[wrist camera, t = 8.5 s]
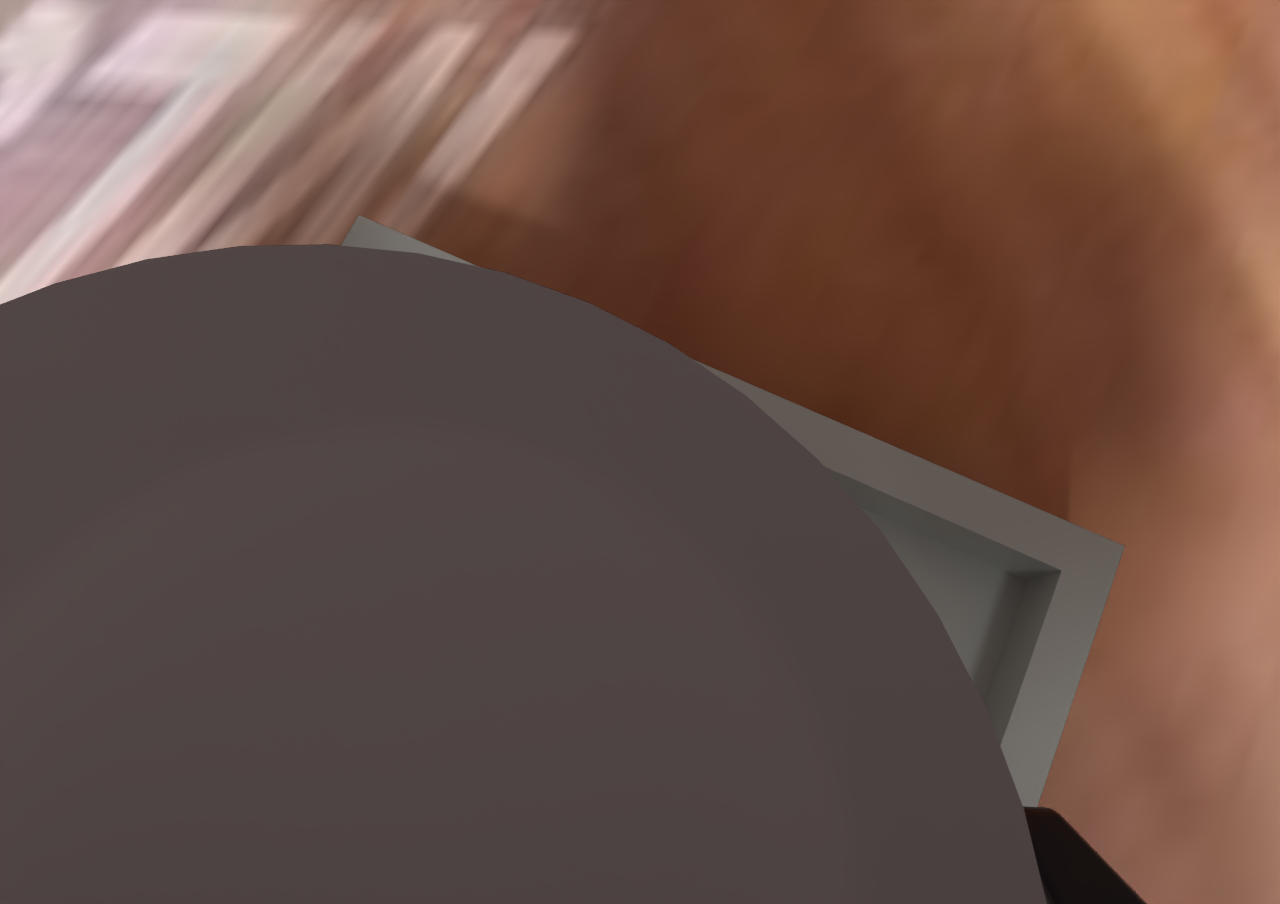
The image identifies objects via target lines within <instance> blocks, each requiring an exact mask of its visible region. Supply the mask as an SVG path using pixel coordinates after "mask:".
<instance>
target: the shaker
mask: <svg viewBox="0 0 1280 904" xmlns="http://www.w3.org/2000/svg"><path fill="white" fill-rule="evenodd" d="M0 904H1047V902H1046V898H1045V894H1044V890H1043V886H1042V881H1041V877H1040V873H1039V869H1038V865H1037V861H1036V857H1035V853H1034V849H1033V844H1032V840H1031V836H1030V832H1029V828H1028V824H1027V820H1026V816H1025V811H1024V808H1023V806H1022V803H1021V800H1020V797H1019V795H1018V792H1017V789H1016V787H1015V784H1014V781H1013V779H1012V776H1011V773H1010V771H1009V768H1008V765H1007V763H1006V760H1005V757H1004V755H1003V752H1002V749H1001V746H1000V744H999V741H998V738H997V736H996V733H995V730H994V728H993V725H992V722H991V720H990V717H989V714H988V712H987V709H986V707H985V705H984V703H983V701H982V699H981V697H980V695H979V693H978V691H977V689H976V687H975V685H974V683H973V681H972V679H971V678H970V676H969V674H968V672H967V670H966V668H965V666H964V664H963V662H962V660H961V658H960V656H959V654H958V652H957V650H956V648H955V647H954V645H953V643H952V641H951V639H950V637H949V635H948V633H947V631H946V629H945V627H944V625H943V623H942V621H941V619H940V618H939V616H938V614H937V612H936V611H935V609H934V608H933V606H932V605H931V604H930V602H929V601H928V599H927V598H926V596H925V595H924V593H923V592H922V590H921V589H920V587H919V586H918V585H917V583H916V582H915V580H914V579H913V577H912V576H911V574H910V573H909V571H908V570H907V568H906V567H905V565H904V564H903V563H902V561H901V560H900V558H899V557H898V555H897V554H896V552H895V551H894V549H893V548H892V546H891V545H890V543H889V542H888V541H887V539H886V538H885V536H884V535H883V533H882V532H881V530H880V529H879V528H878V527H877V526H876V525H875V524H874V523H873V521H872V520H871V519H870V518H869V517H868V516H867V515H866V513H865V512H864V511H863V510H862V509H861V508H860V507H859V506H858V504H857V503H856V502H855V501H854V500H853V499H852V498H851V496H850V495H849V494H848V493H847V492H846V491H845V490H844V489H843V487H842V486H841V485H840V484H839V483H838V482H837V481H836V479H835V478H834V477H833V476H832V475H831V474H830V473H829V472H828V470H827V469H826V468H825V467H824V466H823V465H822V464H821V462H820V461H819V460H818V459H817V458H816V457H815V456H814V455H813V454H811V453H810V452H809V451H808V450H807V449H806V448H805V447H804V446H802V445H801V444H800V443H799V442H798V441H797V440H796V439H794V438H793V437H792V436H791V435H790V434H789V433H788V432H787V431H785V430H784V429H783V428H782V427H781V426H780V425H779V424H777V423H776V422H775V421H774V420H773V419H772V418H771V417H770V416H768V415H767V414H766V413H765V412H764V411H763V410H762V409H760V408H759V407H758V406H757V405H756V404H755V403H754V402H753V401H751V400H750V399H749V398H748V397H747V396H746V395H744V394H743V393H741V392H740V391H738V390H737V389H735V388H734V387H732V386H731V385H729V384H728V383H727V382H725V381H724V380H722V379H721V378H719V377H718V376H716V375H715V374H713V373H712V372H710V371H709V370H707V369H706V368H704V367H703V366H702V365H700V364H699V363H697V362H696V361H694V360H693V359H691V358H690V357H688V356H687V355H685V354H684V353H682V352H681V351H679V350H678V349H677V348H675V347H674V346H672V345H671V344H669V343H667V342H665V341H663V340H661V339H659V338H657V337H655V336H653V335H651V334H649V333H647V332H645V331H643V330H641V329H639V328H638V327H636V326H634V325H632V324H630V323H628V322H626V321H624V320H622V319H620V318H618V317H616V316H614V315H612V314H610V313H608V312H606V311H604V310H602V309H600V308H598V307H596V306H594V305H592V304H590V303H588V302H585V301H583V300H580V299H577V298H574V297H571V296H569V295H566V294H563V293H560V292H557V291H555V290H552V289H549V288H546V287H544V286H541V285H538V284H535V283H532V282H530V281H527V280H524V279H521V278H519V277H516V276H513V275H510V274H507V273H505V272H500V271H496V270H491V269H487V268H482V267H478V266H473V265H469V264H464V263H460V262H455V261H451V260H446V259H442V258H437V257H433V256H429V255H424V254H420V253H412V252H402V251H391V250H381V249H371V248H361V247H350V246H340V245H330V244H322V245H279V246H238V247H231V248H224V249H217V250H209V251H202V252H195V253H188V254H181V255H174V256H167V257H160V258H153V259H146V260H143V261H139V262H135V263H131V264H127V265H124V266H120V267H116V268H112V269H108V270H104V271H101V272H97V273H93V274H89V275H85V276H82V277H78V278H74V279H70V280H66V281H62V282H59V283H55V284H53V285H50V286H47V287H45V288H42V289H40V290H37V291H34V292H32V293H29V294H27V295H24V296H22V297H19V298H16V299H14V300H11V301H9V302H6V303H3V304H1V305H0Z"/></svg>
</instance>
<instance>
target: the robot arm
mask: <svg viewBox="0 0 1280 904" xmlns="http://www.w3.org/2000/svg"><path fill="white" fill-rule="evenodd" d="M1023 808H1024V811H1025V816H1026V820H1027V824H1028V828H1029V832H1030V836H1031V840H1032V844H1033V849H1034V853H1035V857H1036V861H1037V865H1038V869H1039V873H1040V877H1041V881H1042V886H1043V890H1044V894H1045V898H1046V902H1047V904H1147V903H1146V902H1145V901H1144V900H1143V899H1142V898H1141V897H1140V896H1139V895H1138V894H1137V893H1136V892H1135V891H1134V890H1133V889H1132V888H1131V887H1130V886H1129V885H1128V884H1127V883H1126V882H1125V881H1124V880H1123V879H1122V878H1121V877H1120V876H1119V875H1118V873H1117V872H1116V871H1115V870H1114V869H1113V868H1112V867H1111V866H1110V865H1109V864H1108V863H1107V862H1106V861H1105V860H1104V859H1103V858H1102V857H1101V856H1100V855H1099V854H1098V853H1097V852H1096V851H1095V850H1094V849H1093V848H1092V847H1091V846H1090V845H1089V844H1088V843H1087V841H1086V840H1085V839H1084V838H1083V837H1082V836H1081V835H1080V834H1079V833H1078V832H1077V831H1076V830H1075V829H1074V828H1073V827H1072V826H1071V825H1070V824H1069V823H1068V822H1067V821H1066V820H1065V819H1064V818H1063V817H1062V816H1061V815H1060V814H1059V813H1057V812H1056V811H1054V810H1052V809H1050V808H1045V807H1027V806H1023Z"/></svg>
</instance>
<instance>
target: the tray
mask: <svg viewBox="0 0 1280 904" xmlns="http://www.w3.org/2000/svg"><path fill="white" fill-rule="evenodd" d="M341 246H350V247H361V248H371V249H381V250H391V251H402V252H412V253H420V254H424V255H429V256H433V257H437V258H442V259H446V260H451V261H455V262H460V263H464V264H469V265H473V266H476V265H474V264H472V263H469V262H467V261H465V260H462V259H460V258H458V257H455V256H453V255H451V254H448V253H446V252H444V251H441V250H439V249H437V248H435V247H432V246H430V245H428V244H425V243H423V242H421V241H418V240H416V239H414V238H411V237H409V236H407V235H404V234H402V233H400V232H398V231H395V230H393V229H391V228H388V227H386V226H384V225H381V224H379V223H377V222H374V221H372V220H370V219H367V218H365V217H363V216H361V215H358V217H357V219H356V220H355V222H354V224H353V226H352V227H351V229H350V231H349V232H348V234H347V236H346V238H345V239H344V241H343V243H342V244H341ZM693 360H694V359H693ZM694 361H696V360H694ZM696 362H697V363H699V364H700V365H702V366H703V367H704V368H706V369H707V370H709V371H710V372H712V373H713V374H715V375H716V376H718V377H719V378H721V379H722V380H724V381H725V382H727V383H728V384H729V385H731V386H732V387H734V388H735V389H737V390H738V391H740V392H741V393H743V394H744V395H746V396H747V397H748V398H749V399H750V400H751V401H753V402H754V403H755V404H756V405H757V406H758V407H759V408H760V409H762V410H763V411H764V412H765V413H766V414H767V415H768V416H770V417H771V418H772V419H773V420H774V421H775V422H776V423H777V424H779V425H780V426H781V427H782V428H783V429H784V430H785V431H787V432H788V433H789V434H790V435H791V436H792V437H793V438H794V439H796V440H797V441H798V442H799V443H800V444H801V445H802V446H804V447H805V448H806V449H807V450H808V451H809V452H810V453H811V454H813V455H814V456H815V457H816V458H817V459H818V460H819V461H820V462H821V464H822V465H823V466H824V467H825V468H826V469H827V470H828V472H829V473H830V474H831V475H832V476H833V477H834V478H835V479H836V481H837V482H838V483H839V484H840V485H841V486H842V487H843V489H844V490H845V491H846V492H847V493H848V494H849V495H850V496H851V498H852V499H853V500H854V501H855V502H856V503H857V504H858V506H859V507H860V508H861V509H862V510H863V511H864V512H865V513H866V515H867V516H868V517H869V518H870V519H871V520H872V521H873V523H874V524H875V525H876V526H877V527H878V528H879V529H880V530H881V532H882V533H883V535H884V536H885V538H886V539H887V541H888V542H889V543H890V545H891V546H892V548H893V549H894V551H895V552H896V554H897V555H898V557H899V558H900V560H901V561H902V563H903V564H904V565H905V567H906V568H907V570H908V571H909V573H910V574H911V576H912V577H913V579H914V580H915V582H916V583H917V585H918V586H919V587H920V589H921V590H922V592H923V593H924V595H925V596H926V598H927V599H928V601H929V602H930V604H931V605H932V606H933V608H934V609H935V611H936V612H937V614H938V616H939V618H940V619H941V621H942V623H943V625H944V627H945V629H946V631H947V633H948V635H949V637H950V639H951V641H952V643H953V645H954V647H955V648H956V650H957V652H958V654H959V656H960V658H961V660H962V662H963V664H964V666H965V668H966V670H967V672H968V674H969V676H970V678H971V679H972V681H973V683H974V685H975V687H976V689H977V691H978V693H979V695H980V697H981V699H982V701H983V703H984V705H985V707H986V709H987V712H988V714H989V717H990V720H991V722H992V725H993V728H994V730H995V733H996V736H997V738H998V741H999V744H1000V746H1001V749H1002V752H1003V755H1004V757H1005V760H1006V763H1007V765H1008V768H1009V771H1010V773H1011V776H1012V779H1013V781H1014V784H1015V787H1016V789H1017V792H1018V795H1019V797H1020V800H1021V803H1022V806H1027V807H1037V806H1038V803H1039V800H1040V797H1041V794H1042V791H1043V788H1044V785H1045V782H1046V779H1047V776H1048V773H1049V770H1050V767H1051V764H1052V761H1053V758H1054V755H1055V752H1056V749H1057V746H1058V743H1059V740H1060V737H1061V734H1062V732H1063V729H1064V726H1065V723H1066V720H1067V717H1068V714H1069V711H1070V708H1071V705H1072V702H1073V699H1074V696H1075V693H1076V690H1077V687H1078V684H1079V681H1080V678H1081V675H1082V672H1083V669H1084V666H1085V663H1086V660H1087V657H1088V654H1089V651H1090V648H1091V645H1092V642H1093V639H1094V636H1095V633H1096V630H1097V627H1098V624H1099V621H1100V618H1101V615H1102V613H1103V610H1104V607H1105V604H1106V601H1107V598H1108V595H1109V592H1110V589H1111V586H1112V583H1113V580H1114V577H1115V574H1116V571H1117V568H1118V565H1119V562H1120V559H1121V556H1122V553H1123V550H1124V547H1125V546H1124V545H1121V544H1119V543H1117V542H1114V541H1112V540H1110V539H1108V538H1105V537H1103V536H1101V535H1098V534H1096V533H1094V532H1091V531H1089V530H1087V529H1084V528H1082V527H1080V526H1077V525H1075V524H1073V523H1071V522H1068V521H1066V520H1064V519H1061V518H1059V517H1057V516H1054V515H1052V514H1050V513H1047V512H1045V511H1043V510H1040V509H1038V508H1036V507H1034V506H1031V505H1029V504H1027V503H1024V502H1022V501H1020V500H1017V499H1015V498H1013V497H1010V496H1008V495H1006V494H1003V493H1001V492H999V491H997V490H994V489H992V488H990V487H987V486H985V485H983V484H980V483H978V482H976V481H973V480H971V479H969V478H966V477H964V476H962V475H960V474H957V473H955V472H953V471H950V470H948V469H946V468H943V467H941V466H939V465H936V464H934V463H932V462H929V461H927V460H925V459H923V458H920V457H918V456H916V455H913V454H911V453H909V452H906V451H904V450H902V449H899V448H897V447H895V446H892V445H890V444H888V443H886V442H883V441H881V440H879V439H876V438H874V437H872V436H869V435H867V434H865V433H862V432H860V431H858V430H855V429H853V428H851V427H849V426H846V425H844V424H842V423H839V422H837V421H835V420H832V419H830V418H828V417H825V416H823V415H821V414H818V413H816V412H814V411H811V410H809V409H807V408H805V407H802V406H800V405H798V404H795V403H793V402H791V401H788V400H786V399H784V398H781V397H779V396H777V395H774V394H772V393H770V392H768V391H765V390H763V389H761V388H758V387H756V386H754V385H751V384H749V383H747V382H744V381H742V380H740V379H737V378H735V377H733V376H731V375H728V374H726V373H724V372H721V371H719V370H717V369H714V368H712V367H710V366H707V365H705V364H703V363H700V362H698V361H696Z"/></svg>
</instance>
